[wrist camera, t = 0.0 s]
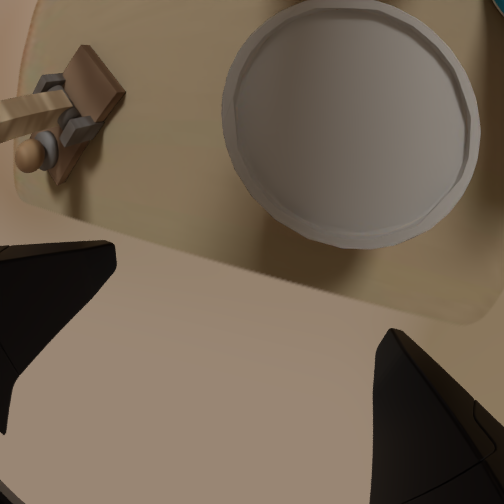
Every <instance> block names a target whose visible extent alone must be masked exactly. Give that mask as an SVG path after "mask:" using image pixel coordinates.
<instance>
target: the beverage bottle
mask: <svg viewBox="0 0 504 504" xmlns="http://www.w3.org/2000/svg"><path fill="white" fill-rule="evenodd" d="M492 1H493V3H494V4H495V6H496V7H497V9H498V10H499V12H500V13H501V14H502V15H503V17H504V0H492Z"/></svg>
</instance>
